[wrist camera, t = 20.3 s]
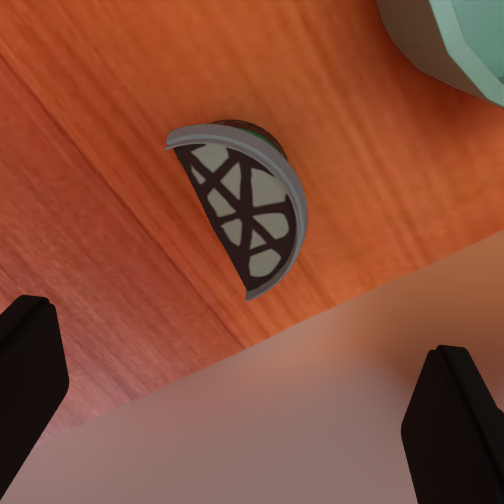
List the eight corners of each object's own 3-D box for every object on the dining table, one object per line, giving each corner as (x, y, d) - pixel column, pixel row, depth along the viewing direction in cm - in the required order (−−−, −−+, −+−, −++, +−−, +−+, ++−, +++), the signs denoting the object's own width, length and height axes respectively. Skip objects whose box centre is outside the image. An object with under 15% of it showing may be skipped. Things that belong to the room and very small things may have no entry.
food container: (325, 217, 35) (336, 281, 27) (259, 239, 37) (248, 308, 28) (270, 72, 30) (261, 95, 22) (196, 106, 32) (159, 140, 23)
